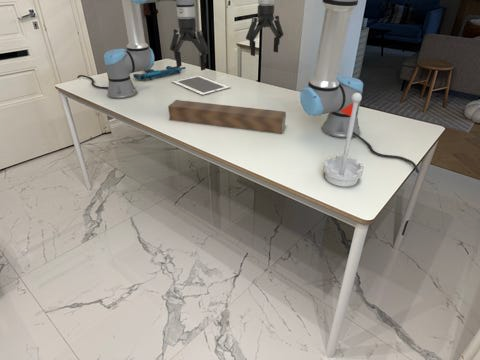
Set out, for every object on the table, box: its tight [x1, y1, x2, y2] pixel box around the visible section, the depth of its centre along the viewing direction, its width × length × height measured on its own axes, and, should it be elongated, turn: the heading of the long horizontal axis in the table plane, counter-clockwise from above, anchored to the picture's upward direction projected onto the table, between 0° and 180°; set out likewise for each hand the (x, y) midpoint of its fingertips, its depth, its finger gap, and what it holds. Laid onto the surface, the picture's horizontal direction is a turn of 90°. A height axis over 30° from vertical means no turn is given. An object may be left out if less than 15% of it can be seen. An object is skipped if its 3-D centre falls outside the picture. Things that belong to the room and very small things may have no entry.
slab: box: [168, 99, 287, 134], centre depth 155 cm, size 54×8×7 cm, turn 73°
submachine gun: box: [132, 65, 187, 81], centre depth 224 cm, size 34×4×25 cm
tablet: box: [171, 75, 231, 96], centre depth 204 cm, size 32×20×1 cm, turn 41°
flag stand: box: [322, 93, 365, 187], centre depth 109 cm, size 13×13×30 cm
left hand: (191, 68), depth 156 cm, fingers open, 13 cm apart
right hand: (264, 53), depth 164 cm, fingers open, 13 cm apart
